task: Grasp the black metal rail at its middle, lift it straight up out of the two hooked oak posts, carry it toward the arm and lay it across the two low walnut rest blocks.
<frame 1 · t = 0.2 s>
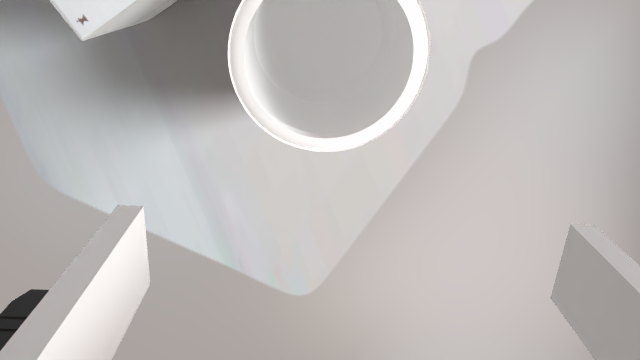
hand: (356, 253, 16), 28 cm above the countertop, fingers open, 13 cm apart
jar: (322, 26, 41), on the countertop
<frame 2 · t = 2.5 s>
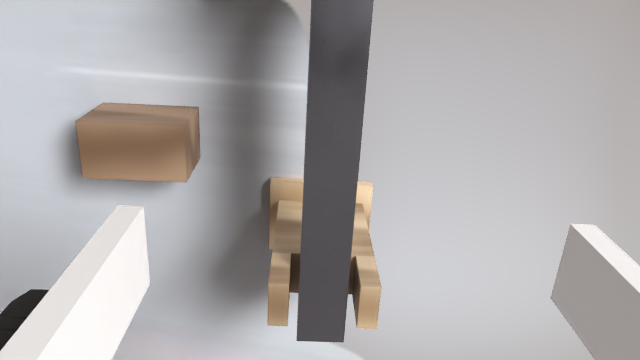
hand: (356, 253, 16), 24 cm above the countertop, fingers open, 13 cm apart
hook stand: (327, 85, 38), on the countertop
rail: (332, 119, 30), point 9 cm above the countertop, touching hook stand
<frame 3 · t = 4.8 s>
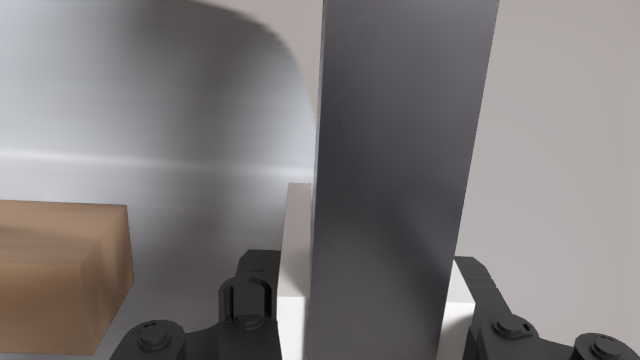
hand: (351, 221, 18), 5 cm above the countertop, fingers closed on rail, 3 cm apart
rail: (362, 292, 14), point 9 cm above the countertop, touching gripper, hook stand
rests: (14, 11, 20), on the countertop
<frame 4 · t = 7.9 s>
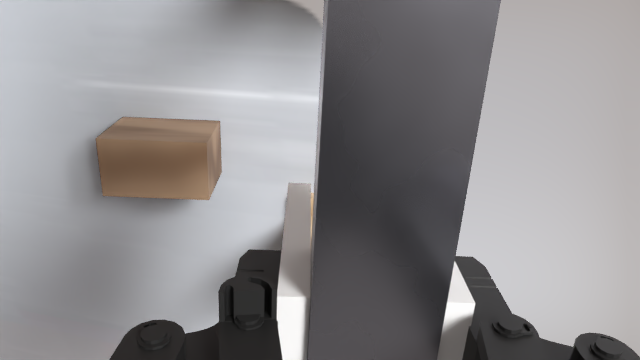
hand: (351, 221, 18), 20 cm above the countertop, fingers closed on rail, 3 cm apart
rail: (363, 293, 14), point 24 cm above the countertop, touching gripper
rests: (163, 2, 34), on the countertop
when the fingers open (2 cm above the countertop, at t = 11.3 s): rail drops 2 cm, resting on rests.
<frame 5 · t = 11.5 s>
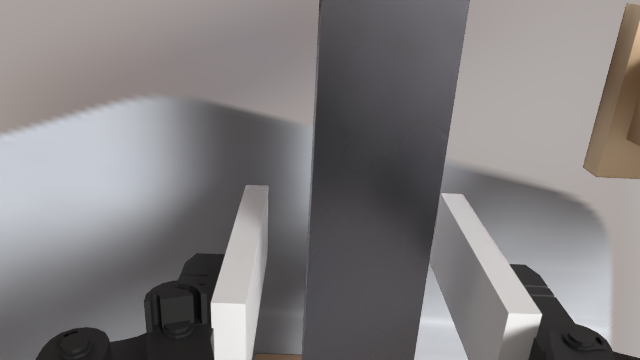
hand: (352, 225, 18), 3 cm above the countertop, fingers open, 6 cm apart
hook stand: (629, 328, 23), on the countertop
rail: (356, 261, 16), point 5 cm above the countertop, touching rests
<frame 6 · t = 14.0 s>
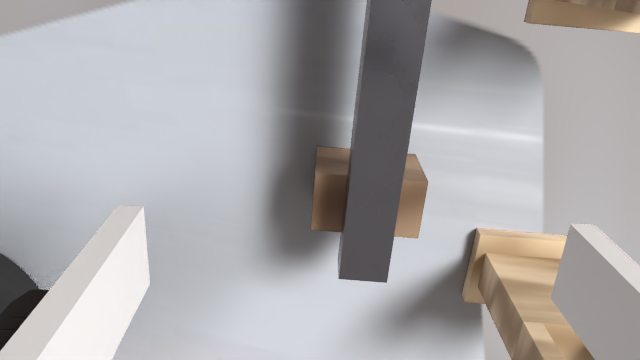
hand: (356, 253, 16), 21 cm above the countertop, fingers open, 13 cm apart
hook stand: (555, 138, 36), on the countertop
rail: (388, 45, 29), point 5 cm above the countertop, touching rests
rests: (381, 34, 34), on the countertop
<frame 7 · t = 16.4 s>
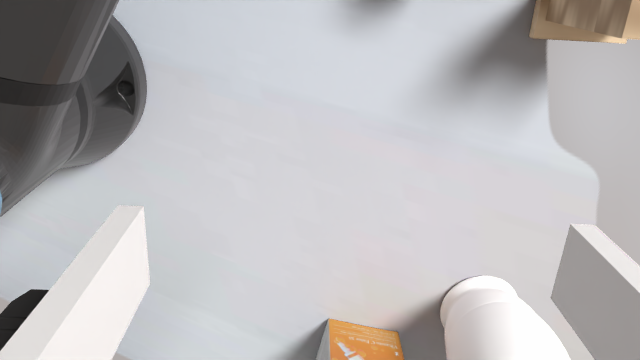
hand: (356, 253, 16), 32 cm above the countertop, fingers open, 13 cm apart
small box: (355, 344, 57), on the countertop
jar: (477, 306, 56), on the countertop
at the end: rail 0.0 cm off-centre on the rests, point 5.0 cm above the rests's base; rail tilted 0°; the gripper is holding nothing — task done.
